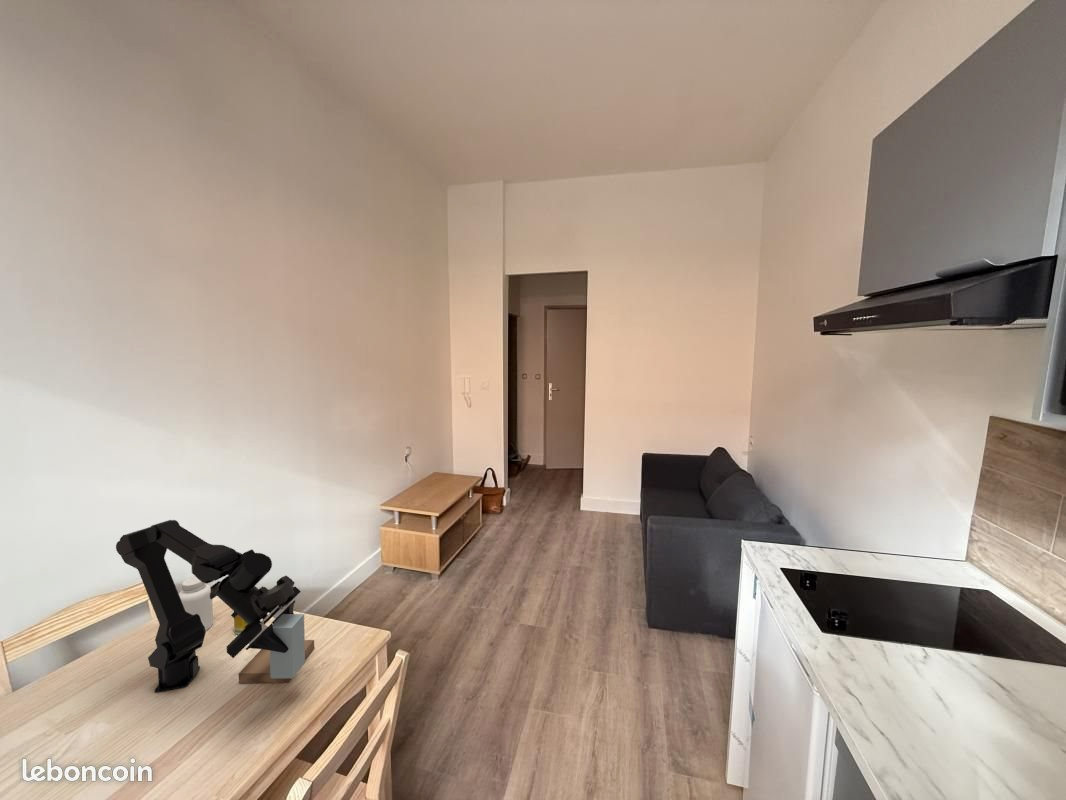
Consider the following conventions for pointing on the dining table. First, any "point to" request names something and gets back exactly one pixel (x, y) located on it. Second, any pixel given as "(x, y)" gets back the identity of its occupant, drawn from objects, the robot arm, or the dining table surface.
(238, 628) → the supplement bottle
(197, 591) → the pill bottle
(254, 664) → the walnut board
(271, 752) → the dining table surface
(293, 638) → the slate post
